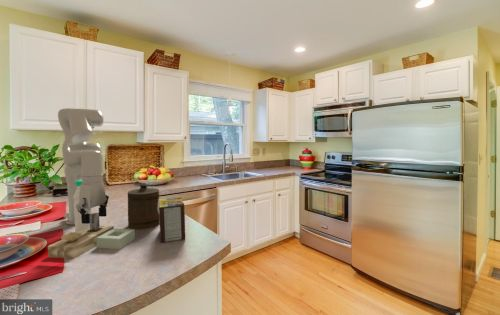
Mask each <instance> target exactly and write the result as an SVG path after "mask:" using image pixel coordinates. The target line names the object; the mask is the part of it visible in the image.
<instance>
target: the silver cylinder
mask: <svg viewBox="0 0 500 315" xmlns="http://www.w3.org/2000/svg"><path fill="white" fill-rule="evenodd" d="M100 226H101V225H100V216H99V212H92V213H91V214H90V232H97V231H99V230H100Z"/></svg>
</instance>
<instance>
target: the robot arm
mask: <svg viewBox="0 0 500 315" xmlns="http://www.w3.org/2000/svg"><path fill="white" fill-rule="evenodd" d="M57 118H58V122H59V125H60V127H61V130H62V131H63V133H64V140H63V142H62V146H61V150H62V152H61V153H62V160H63V163H64V165H65V167H64V176H65V181H66V186H67V199H68V212H66V213H65V214H64V215H63V218H67V219H66V220H65V224H66V225H69V226H70V225H71V226H73V225H74V226H75V216H74V199H73V196H74V194H75V191H76V190H77V187H76V181H78V180H82V184H81V186H80V192H79V203H78V204H77V205H76V208H77V210H78V212H80V214H81V219H82V224H89V223H90V214H88V212H89V210H90V208H92V209H93V208H96V207H98V213H99V218H100V217H107V207H108V205H107V204H108V203H109V197H110V196H109V195H107V194H106V189H105V184H104V180H103V179H104V172H105V171H104V170H105V169H104V160H103V150H102V147H101V145H100V144H99V143H98V142H88V141H90V140H92V138H93V137H94V131H93V127H102V126H103V125H104V116H103V114H102V112H101V111H100V110H98V109H91V108H74V107H73V108H70V107H69V108H61V109H59V110H58V112H57ZM85 209H86V211H85Z"/></svg>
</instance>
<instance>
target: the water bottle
mask: <svg viewBox="0 0 500 315" xmlns="http://www.w3.org/2000/svg"><path fill="white" fill-rule="evenodd" d="M81 184H82V180H78V181H76V187H77V190H76V191H75V194H74V196H73V199H74V216H75V225H74V226H75V229H74V232H76V233H78V232H80V231H82V230H84V229H86V228H89V227H90V223H89V224H82V219H81V214H80V212H78V210H77V208H76V205H77V204H78V203H79V192H80V186H81ZM85 211H86V209H85ZM91 213H93V208H90V210H89V212H88V214H91Z"/></svg>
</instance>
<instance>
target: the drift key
mask: <svg viewBox="0 0 500 315" xmlns="http://www.w3.org/2000/svg"><path fill="white" fill-rule="evenodd" d="M79 236H81V233H76V232H75V231H74V232H73V231H71V232H69V233H67V234H64V235H62V236H61V237H60V239H61V240H62V239H67V243H73V242H75V241H76V238H77V237H79Z"/></svg>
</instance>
